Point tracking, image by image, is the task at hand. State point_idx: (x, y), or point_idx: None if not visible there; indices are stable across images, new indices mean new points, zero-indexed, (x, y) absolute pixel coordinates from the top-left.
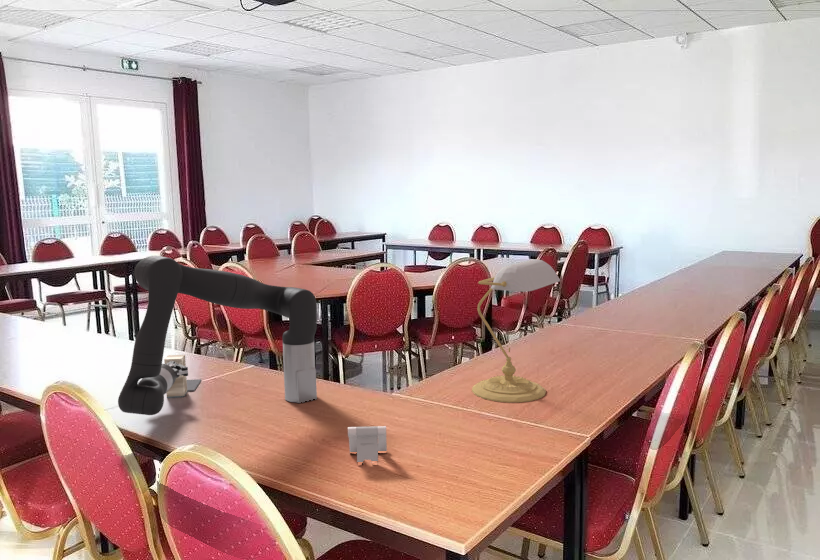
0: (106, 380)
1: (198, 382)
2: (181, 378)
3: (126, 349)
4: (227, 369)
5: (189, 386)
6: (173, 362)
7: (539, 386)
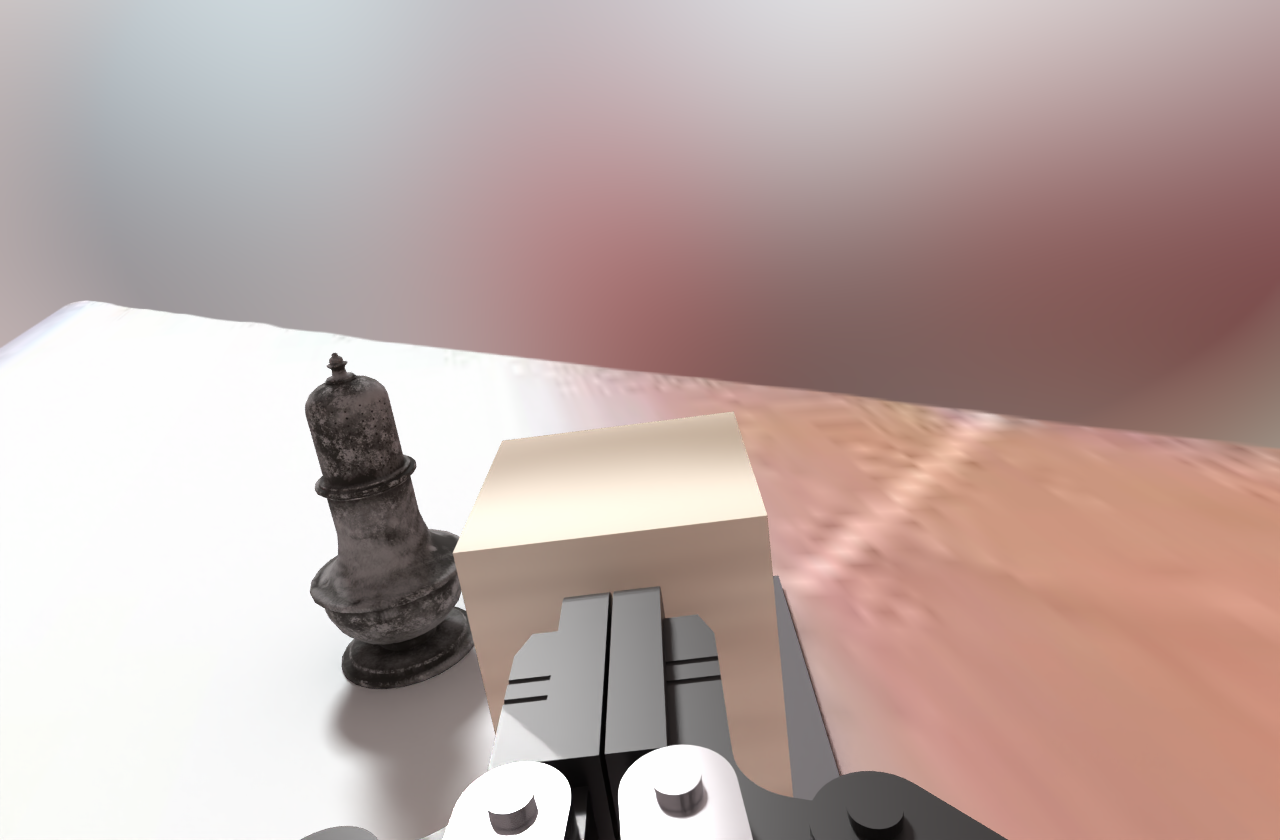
0: (103, 603)
1: (788, 630)
2: None
3: (315, 366)
4: (864, 450)
5: None
6: (663, 654)
7: None
